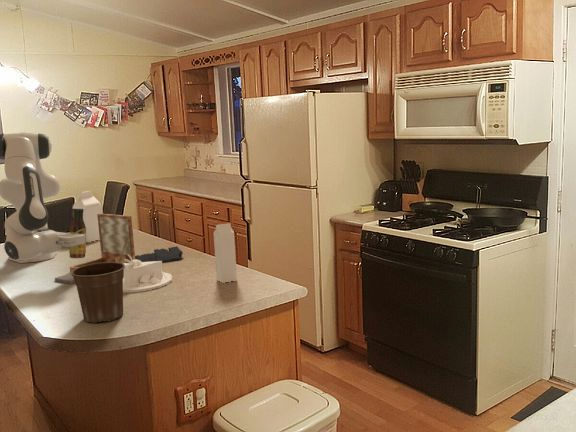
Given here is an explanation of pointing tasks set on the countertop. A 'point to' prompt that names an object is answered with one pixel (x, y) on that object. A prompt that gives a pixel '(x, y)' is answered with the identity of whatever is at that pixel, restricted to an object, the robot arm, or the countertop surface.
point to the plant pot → (100, 290)
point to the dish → (144, 276)
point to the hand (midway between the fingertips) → (78, 234)
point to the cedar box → (113, 239)
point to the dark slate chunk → (162, 255)
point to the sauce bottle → (78, 228)
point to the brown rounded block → (121, 260)
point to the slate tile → (65, 279)
